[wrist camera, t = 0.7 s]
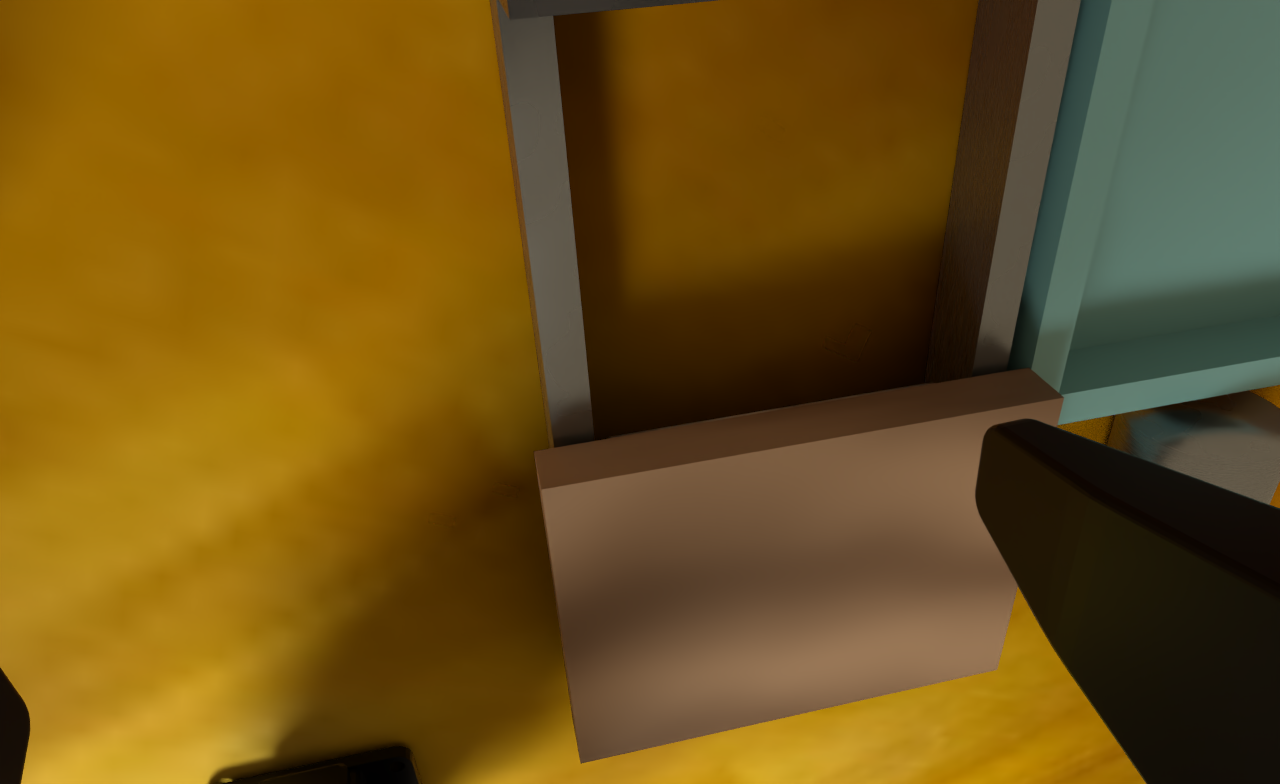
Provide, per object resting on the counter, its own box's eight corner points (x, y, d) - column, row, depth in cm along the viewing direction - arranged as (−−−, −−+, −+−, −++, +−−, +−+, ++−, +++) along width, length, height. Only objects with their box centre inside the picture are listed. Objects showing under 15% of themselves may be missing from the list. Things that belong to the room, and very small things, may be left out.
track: (919, 594, 31) (999, 713, 26) (578, 665, 29) (605, 804, 25) (1037, -121, 19) (1212, -111, 15) (479, -79, 17) (500, -53, 13)
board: (946, 597, 30) (997, 669, 27) (564, 678, 28) (580, 763, 25) (995, 338, 24) (1064, 397, 22) (526, 415, 22) (541, 489, 20)
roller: (1142, 572, 33) (1235, 665, 29) (1033, 595, 32) (1115, 694, 29) (1214, 365, 28) (1337, 445, 24) (1087, 388, 27) (1194, 474, 24)
